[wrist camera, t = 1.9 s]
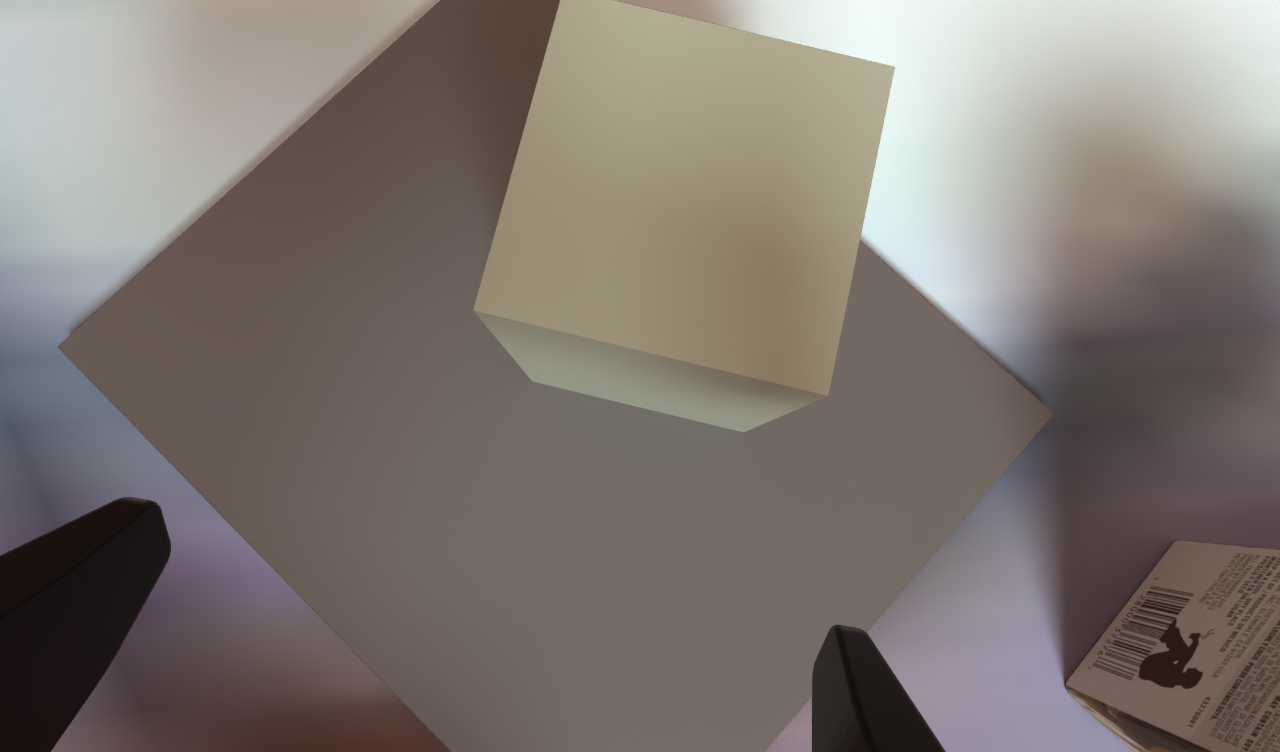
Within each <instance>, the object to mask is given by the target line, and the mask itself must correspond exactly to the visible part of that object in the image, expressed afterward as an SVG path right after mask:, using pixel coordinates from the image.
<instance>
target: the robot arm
mask: <svg viewBox="0 0 1280 752" xmlns="http://www.w3.org/2000/svg"><path fill="white" fill-rule="evenodd" d="M170 552H171V542H170V538H169V535H168V532H167V528H166V525H165V521H164V518H163V514H162V511H161V508H160V506H159V505H158V504H157V503H156V502H154V501H150V500H144V499H139V498H133V497H123V498H119V499H117V500H114V501H112V502H110V503H108V504H106V505H104V506H102V507H100V508H98V509H96V510H94V511H91V512H89V513H87V514H85V515H83V516H81V517H79V518H77V519H75V520H73V521H71V522H69V523H67V524H65V525H63V526H60V527H58V528H56V529H54V530H52V531H50V532H48V533H46V534H44V535H42V536H40V537H38V538H36V539H34V540H32V541H29V542H27V543H25V544H23V545H21V546H19V547H17V548H15V549H13V550H11V551H9V552H7V553H5V554H3V555H1V556H0V752H51V750H52V749H53V748H54V746H55V745H56V743H57V742H58V740H59V739H60V737H61V736H62V735H63V733H64V732H65V730H66V729H67V727H68V726H69V724H70V723H71V722H72V720H73V719H74V717H75V716H76V714H77V713H78V711H79V710H80V709H81V707H82V706H83V704H84V703H85V701H86V700H87V699H88V697H89V696H90V694H91V693H92V691H93V690H94V688H95V687H96V686H97V684H98V682H99V681H100V679H101V678H102V676H103V675H104V673H105V672H106V670H107V669H108V667H109V666H110V664H111V662H112V661H113V659H114V657H115V656H116V654H117V652H118V651H119V649H120V647H121V645H122V643H123V642H124V640H125V638H126V636H127V634H128V632H129V631H130V629H131V627H132V625H133V623H134V622H135V620H136V618H137V616H138V614H139V613H140V611H141V609H142V607H143V605H144V604H145V602H146V600H147V598H148V596H149V595H150V593H151V591H152V589H153V587H154V586H155V584H156V582H157V580H158V578H159V577H160V575H161V573H162V571H163V569H164V568H165V566H166V564H167V562H168V559H169V556H170ZM812 752H945V750H944V749H943V747H942V745H941V744H940V742H939V741H938V739H937V738H936V736H935V735H934V733H933V732H932V730H931V729H930V727H929V726H928V724H927V723H926V721H925V720H924V718H923V717H922V715H921V714H920V712H919V711H918V709H917V708H916V706H915V705H914V703H913V702H912V700H911V699H910V697H909V696H908V694H907V693H906V691H905V690H904V688H903V687H902V685H901V684H900V682H899V681H898V679H897V678H896V676H895V674H894V673H893V671H892V670H891V668H890V667H889V665H888V664H887V662H886V661H885V659H884V658H883V656H882V655H881V653H880V652H879V650H878V649H877V647H876V646H875V644H874V643H873V641H872V640H871V638H870V637H869V635H868V634H867V633H866V632H865V631H864V630H862V629H860V628H856V627H850V626H844V625H839V624H837V625H833V626H832V627H831V628H830V630H829V631H828V634H827V636H826V638H825V640H824V642H823V645H822V647H821V649H820V651H819V653H818V655H817V658H816V660H815V663H814V667H813V674H812Z"/></svg>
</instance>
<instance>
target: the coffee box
mask: <svg viewBox="0 0 1280 752" xmlns="http://www.w3.org/2000/svg"><path fill="white" fill-rule="evenodd" d="M1066 687H1067V691H1068V693H1069V694H1070V695H1071V696H1072V697H1073V698H1074V699H1075V700H1076V701H1077V702H1078V703H1079V704H1080V705H1081V706H1082V707H1083V708H1084V709H1086V710H1087V711H1088V712H1089V713H1090V714H1091V715H1092V716H1094V717H1095V718H1096V719H1097V720H1098V721H1099V722H1100V723H1102V724H1103V725H1104V726H1105V727H1106V728H1107V729H1108V730H1110V731H1111V732H1112V733H1113V734H1114V735H1115V736H1116V737H1118V738H1119V739H1120V740H1121V741H1122V742H1123V743H1124V744H1126V745H1127V746H1128V747H1129V748H1130V749H1131V750H1132V751H1134V752H1280V550H1279V549H1269V548H1260V547H1246V546H1239V545H1223V544H1213V543H1203V542H1193V541H1182V540H1178V541H1175V542H1174V543H1173V544H1172V545H1171V546H1170V548H1169V549H1168V550H1167V552H1166V553H1165V554H1164V556H1163V557H1162V558H1161V559H1160V561H1159V562H1158V563H1157V565H1156V566H1155V567H1154V569H1153V570H1152V571H1151V572H1150V574H1149V575H1148V576H1147V578H1146V579H1145V580H1144V582H1143V583H1142V584H1141V585H1140V587H1139V588H1138V589H1137V591H1136V592H1135V593H1134V594H1133V596H1132V597H1131V598H1130V600H1129V601H1128V602H1127V603H1126V605H1125V606H1124V607H1123V609H1122V610H1121V611H1120V613H1119V614H1118V615H1117V616H1116V618H1115V619H1114V620H1113V622H1112V623H1111V624H1110V626H1109V627H1108V628H1107V629H1106V631H1105V632H1104V633H1103V635H1102V636H1101V638H1100V639H1099V640H1098V642H1097V643H1096V644H1095V646H1094V647H1093V648H1092V649H1091V650H1090V652H1089V653H1088V654H1087V655H1086V657H1085V658H1084V659H1083V661H1082V662H1081V663H1080V665H1079V666H1078V667H1077V669H1076V670H1075V671H1074V673H1073V674H1072V675H1071V676H1070V678H1069V679H1068V681H1067V683H1066Z"/></svg>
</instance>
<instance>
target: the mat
mask: <svg viewBox="0 0 1280 752" xmlns="http://www.w3.org/2000/svg"><path fill="white" fill-rule="evenodd" d="M559 3H560V0H441V1H439V2H438V3H437V4H436V5H435V6H434V7H433V8H432V9H431V10H429V11H428V12H427V13H426V14H425V15H424V16H423V17H422V18H421V19H419V20H418V21H417V22H416V23H415V24H414V25H413V26H412V27H411V28H410V29H408V30H407V31H406V32H405V33H404V34H403V35H402V36H401V37H400V38H398V39H397V40H396V41H395V42H394V43H393V44H392V45H391V46H390V47H389V48H387V49H386V50H385V51H384V52H383V53H382V54H381V55H380V56H379V57H377V58H376V59H375V60H374V61H373V62H372V63H371V64H370V65H369V66H367V67H366V68H365V69H364V70H363V71H362V72H361V73H360V74H359V75H358V76H356V77H355V78H354V79H353V80H352V81H351V82H350V83H349V84H348V85H346V86H345V87H344V88H343V89H342V90H341V91H340V92H339V93H338V94H337V95H335V96H334V97H333V98H332V99H331V100H330V101H329V102H328V103H327V104H325V105H324V106H323V107H322V108H321V109H320V110H319V111H318V112H317V113H315V114H314V115H313V116H312V117H311V118H310V119H309V120H308V121H307V122H306V123H304V124H303V125H302V126H301V127H300V128H299V129H298V130H297V131H296V132H294V133H293V134H292V135H291V136H290V137H289V138H288V139H287V140H286V141H285V142H283V143H282V144H281V145H280V146H279V147H278V148H277V149H276V150H275V151H273V152H272V153H271V154H270V155H269V156H268V157H267V158H266V159H265V160H263V161H262V162H261V163H260V164H259V165H258V166H257V167H256V168H255V169H254V170H252V171H251V172H250V173H249V174H248V175H247V176H246V177H245V178H244V179H242V180H241V181H240V182H239V183H238V184H237V185H236V186H235V187H234V188H233V189H231V190H230V191H229V192H228V193H227V194H226V195H225V196H224V197H223V198H221V199H220V200H219V201H218V202H217V203H216V204H215V205H214V206H213V207H211V208H210V209H209V210H208V211H207V212H206V213H205V214H204V215H203V216H202V217H200V218H199V219H198V220H197V221H196V222H195V223H194V224H193V225H192V226H190V227H189V228H188V229H187V230H186V231H185V232H184V233H183V234H182V235H181V236H179V237H178V238H177V239H176V240H175V241H174V242H173V243H172V244H171V245H169V246H168V247H167V248H166V249H165V250H164V251H163V252H162V253H161V254H159V255H158V256H157V257H156V258H155V259H154V260H153V261H152V262H151V263H150V264H148V265H147V266H146V267H145V268H144V269H143V270H142V271H141V272H140V273H138V274H137V275H136V276H135V277H134V278H133V279H132V280H131V281H130V282H129V283H127V284H126V285H125V286H124V287H123V288H122V289H121V290H120V291H119V292H117V293H116V294H115V295H114V296H113V297H112V298H111V299H110V300H109V301H107V302H106V303H105V304H104V305H103V306H102V307H101V308H100V309H99V310H98V311H96V312H95V313H94V314H93V315H92V316H91V317H90V318H89V319H88V320H86V321H85V322H84V323H83V324H82V325H81V326H80V327H79V328H78V329H77V330H75V331H74V332H73V333H72V334H71V335H70V336H69V337H68V338H67V339H65V340H64V341H63V342H62V343H61V344H60V345H59V346H58V348H59V349H60V350H61V351H62V352H63V353H64V354H65V355H66V356H67V357H68V358H69V359H70V360H71V361H72V362H73V363H74V365H75V366H76V367H77V368H78V369H79V370H80V371H81V372H82V373H83V374H84V375H85V376H86V377H87V378H88V379H89V380H90V381H91V382H92V383H93V384H94V385H95V386H96V387H97V388H98V389H99V390H100V391H101V392H102V393H103V394H104V395H105V396H106V397H107V398H108V399H109V401H110V402H111V403H112V404H113V405H114V406H115V407H116V408H117V409H118V410H119V411H120V412H121V413H122V414H123V415H124V416H125V417H126V418H127V419H128V420H129V421H130V422H131V423H132V424H133V425H134V426H135V427H136V428H137V429H138V430H139V431H140V432H141V433H142V434H143V435H144V436H145V438H146V439H147V440H148V441H149V442H150V443H151V444H152V445H153V446H154V447H155V448H156V449H157V450H158V451H159V452H160V453H161V454H162V455H163V456H164V457H165V458H166V459H167V460H168V461H169V462H170V463H171V464H172V465H173V466H174V467H175V468H176V469H177V470H178V471H179V472H180V474H181V475H182V476H183V477H184V478H185V479H186V480H187V481H188V482H189V483H190V484H191V485H192V486H193V487H194V488H195V489H196V490H197V491H198V492H199V493H200V494H201V495H202V496H203V497H204V498H205V499H206V500H207V501H208V502H209V503H210V504H211V505H212V506H213V507H214V508H215V510H216V511H217V512H218V513H219V514H220V515H221V516H222V517H223V518H224V519H225V520H226V521H227V522H228V523H229V524H230V525H231V526H232V527H233V528H234V529H235V530H236V531H237V532H238V533H239V534H240V535H241V536H242V537H243V538H244V539H245V540H246V541H247V542H248V543H249V544H250V546H251V547H252V548H253V549H254V550H255V551H256V552H257V553H258V554H259V555H260V556H261V557H262V558H263V559H264V560H265V561H266V562H267V563H268V564H269V565H270V566H271V567H272V568H273V569H274V570H275V571H276V572H277V573H278V574H279V575H280V576H281V577H282V578H283V579H284V580H285V582H286V583H287V584H288V585H289V586H290V587H291V588H292V589H293V590H294V591H295V592H296V593H297V594H298V595H299V596H300V597H301V598H302V599H303V600H304V601H305V602H306V603H307V604H308V605H309V606H310V607H311V608H312V609H313V610H314V611H315V612H316V613H317V614H318V615H319V616H320V618H321V619H322V620H323V621H324V622H325V623H326V624H327V625H328V626H329V627H330V628H331V629H332V630H333V631H334V632H335V633H336V634H337V635H338V636H339V637H340V638H341V639H342V640H343V641H344V642H345V643H346V644H347V645H348V646H349V647H350V648H351V649H352V650H353V651H354V652H355V653H356V655H357V656H358V657H359V658H360V659H361V660H362V661H363V662H364V663H365V664H366V665H367V666H368V667H369V668H370V669H371V670H372V671H373V672H374V673H375V674H376V675H377V676H378V677H379V678H380V679H381V680H382V681H383V682H384V683H385V684H386V685H387V686H388V687H389V688H390V689H391V691H392V692H393V693H394V694H395V695H396V696H397V697H398V698H399V699H400V700H401V701H402V702H403V703H404V704H405V705H406V706H407V707H408V708H409V709H410V710H411V711H412V712H413V713H414V714H415V715H416V716H417V717H418V718H419V719H420V720H421V721H422V722H423V723H424V724H425V725H426V727H427V728H428V729H429V730H430V731H431V732H432V733H433V734H434V735H435V736H436V737H437V738H438V739H439V740H440V741H441V742H442V743H443V744H444V745H445V746H446V747H447V748H448V749H449V750H450V751H451V752H765V751H766V749H767V748H768V747H769V746H770V745H771V744H772V742H773V741H774V740H775V739H776V738H777V737H778V735H779V734H780V733H781V732H782V731H783V730H784V728H785V727H786V726H787V725H788V724H789V723H790V721H791V720H792V719H793V718H794V717H795V716H796V714H797V713H798V712H799V711H800V710H801V709H802V707H803V706H804V705H805V704H806V703H807V702H808V700H809V699H810V698H811V697H812V674H813V667H814V663H815V660H816V658H817V655H818V653H819V651H820V649H821V647H822V645H823V642H824V640H825V638H826V636H827V634H828V631H829V630H830V628H831V627H832V626H833V625H837V624H839V625H844V626H850V627H856V628H860V629H862V630H864V631H865V632H866V633H867V632H868V630H869V629H870V628H871V627H872V626H873V625H874V623H875V622H876V621H877V620H878V619H879V618H880V616H881V615H882V614H883V613H884V612H885V611H886V609H887V608H888V607H889V606H890V605H891V604H892V602H893V601H894V600H895V599H896V598H897V597H898V595H899V594H900V593H901V592H902V591H903V590H904V588H905V587H906V586H907V585H908V584H909V583H910V581H911V580H912V579H913V578H914V577H915V576H916V574H917V573H918V572H919V571H920V570H921V569H922V567H923V566H924V565H925V564H926V563H927V562H928V560H929V559H930V558H931V557H932V556H933V555H934V553H935V552H936V551H937V550H938V549H939V548H940V546H941V545H942V544H943V543H944V542H945V541H946V539H947V538H948V537H949V536H950V535H951V534H952V532H953V531H954V530H955V529H956V528H957V527H958V525H959V524H960V523H961V522H962V521H963V520H964V518H965V517H966V516H967V515H968V514H969V513H970V511H971V510H972V509H973V508H974V507H975V506H976V504H977V503H978V502H979V501H980V500H981V499H982V497H983V496H984V495H985V494H986V493H987V492H988V490H989V489H990V488H991V487H992V486H993V485H994V483H995V482H996V481H997V480H998V479H999V478H1000V476H1001V475H1002V474H1003V473H1004V472H1005V471H1006V469H1007V468H1008V467H1009V466H1010V465H1011V464H1012V462H1013V461H1014V460H1015V459H1016V458H1017V457H1018V455H1019V454H1020V453H1021V452H1022V451H1023V450H1024V448H1025V447H1026V446H1027V445H1028V444H1029V443H1030V441H1031V440H1032V439H1033V438H1034V437H1035V436H1036V434H1037V433H1038V432H1039V431H1040V430H1041V429H1042V427H1043V426H1044V425H1045V424H1046V423H1047V422H1048V420H1049V419H1050V418H1051V417H1052V416H1053V415H1054V413H1053V412H1051V411H1050V410H1049V409H1048V408H1047V407H1046V406H1045V405H1044V404H1042V403H1041V402H1040V401H1039V400H1038V399H1037V398H1036V397H1035V396H1033V395H1032V394H1031V393H1030V392H1029V391H1028V390H1027V389H1026V388H1025V387H1023V386H1022V385H1021V384H1020V383H1019V382H1018V381H1017V380H1016V379H1014V378H1013V377H1012V376H1011V375H1010V374H1009V373H1008V372H1007V371H1005V370H1004V369H1003V368H1002V367H1001V366H1000V365H999V364H998V363H996V362H995V361H994V360H993V359H992V358H991V357H990V356H989V355H988V354H986V353H985V352H984V351H983V350H982V349H981V348H980V347H979V346H977V345H976V344H975V343H974V342H973V341H972V340H971V339H970V338H968V337H967V336H966V335H965V334H964V333H963V332H962V331H961V330H960V329H958V328H957V327H956V326H955V325H954V324H953V323H952V322H951V321H949V320H948V319H947V318H946V317H945V316H944V315H943V314H942V313H940V312H939V311H938V310H937V309H936V308H935V307H934V306H933V305H931V304H930V303H929V302H928V301H927V300H926V299H925V298H924V297H923V296H921V295H920V294H919V293H918V292H917V291H916V290H915V289H914V288H912V287H911V286H910V285H909V284H908V283H907V282H906V281H905V280H903V279H902V278H901V277H900V276H899V275H898V274H897V273H896V272H895V271H893V270H892V269H891V268H890V267H889V266H888V265H887V264H886V263H884V262H883V261H882V260H881V259H880V258H879V257H878V256H877V255H875V254H874V253H873V252H872V251H871V250H870V249H869V248H868V247H866V246H865V245H864V244H863V243H862V242H861V241H860V242H859V247H858V251H857V256H856V261H855V266H854V271H853V276H852V281H851V286H850V291H849V296H848V301H847V306H846V311H845V316H844V321H843V326H842V331H841V335H840V340H839V345H838V350H837V355H836V360H835V365H834V370H833V375H832V380H831V385H830V390H829V395H828V396H827V397H825V398H822V399H820V400H818V401H815V402H813V403H811V404H808V405H806V406H804V407H801V408H799V409H797V410H795V411H792V412H790V413H788V414H785V415H783V416H781V417H778V418H776V419H774V420H771V421H769V422H767V423H765V424H762V425H760V426H758V427H755V428H753V429H751V430H748V431H746V432H740V431H736V430H731V429H727V428H723V427H719V426H715V425H711V424H707V423H702V422H698V421H694V420H690V419H686V418H682V417H678V416H674V415H669V414H665V413H661V412H657V411H653V410H649V409H645V408H640V407H636V406H632V405H628V404H624V403H620V402H616V401H611V400H607V399H603V398H599V397H595V396H591V395H587V394H582V393H578V392H574V391H570V390H566V389H562V388H558V387H553V386H549V385H545V384H541V383H537V382H533V381H532V380H531V379H530V378H529V377H528V376H527V374H526V373H525V372H524V371H523V370H522V368H521V367H520V366H519V365H518V364H517V362H516V361H515V360H514V359H513V358H512V356H511V355H510V354H509V353H508V352H507V350H506V349H505V348H504V347H503V346H502V344H501V343H500V342H499V341H498V340H497V338H496V337H495V336H494V335H493V334H492V332H491V331H490V330H489V329H488V328H487V326H486V325H485V324H484V323H483V322H482V320H481V319H480V318H479V317H478V316H477V314H476V313H475V312H474V311H473V309H474V306H475V302H476V298H477V295H478V291H479V288H480V284H481V281H482V277H483V274H484V270H485V266H486V263H487V259H488V256H489V252H490V249H491V245H492V241H493V238H494V234H495V231H496V227H497V224H498V220H499V217H500V213H501V209H502V206H503V202H504V199H505V195H506V192H507V188H508V185H509V181H510V177H511V174H512V170H513V167H514V163H515V160H516V156H517V153H518V149H519V145H520V142H521V138H522V135H523V131H524V128H525V124H526V121H527V117H528V113H529V110H530V106H531V103H532V99H533V96H534V92H535V88H536V85H537V81H538V78H539V74H540V71H541V67H542V64H543V60H544V56H545V53H546V49H547V46H548V42H549V39H550V35H551V32H552V28H553V24H554V21H555V17H556V14H557V10H558V7H559Z"/></svg>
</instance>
